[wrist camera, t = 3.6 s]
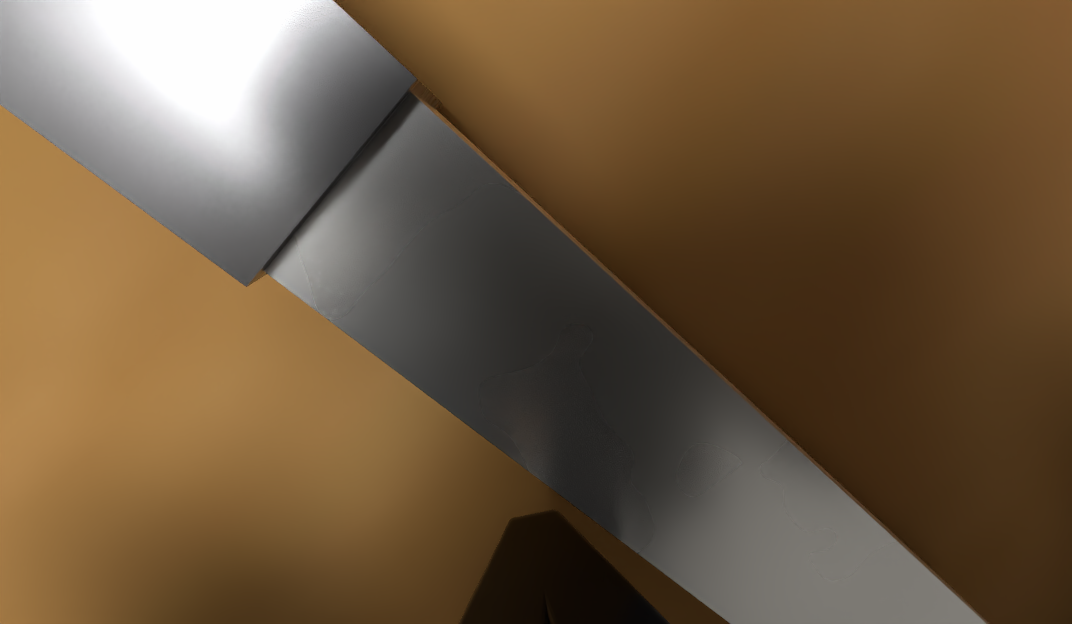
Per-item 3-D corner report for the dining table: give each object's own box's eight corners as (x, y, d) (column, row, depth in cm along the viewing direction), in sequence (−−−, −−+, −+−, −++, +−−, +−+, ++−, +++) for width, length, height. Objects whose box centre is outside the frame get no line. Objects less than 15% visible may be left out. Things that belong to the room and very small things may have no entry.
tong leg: (1067, 686, 10) (1258, 865, 8) (980, 752, 11) (1137, 946, 8) (82, -233, 5) (-278, -570, 3) (-29, -60, 6) (-442, -222, 3)
